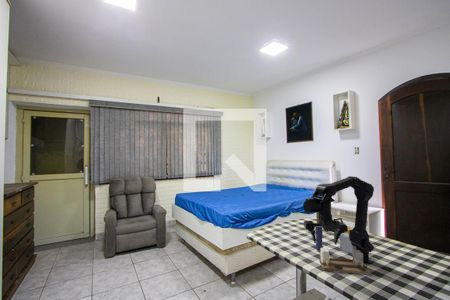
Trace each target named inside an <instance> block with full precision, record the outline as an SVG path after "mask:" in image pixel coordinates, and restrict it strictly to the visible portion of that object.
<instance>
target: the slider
mask: <svg viewBox="0 0 450 300" xmlns="http://www.w3.org/2000/svg"><path fill="white" fill-rule="evenodd" d="M320 249H321V251H320V257H321V261H322V263H327V266H328V263H329V258H330V251H329V250H328V248H326V247H323V248H320Z"/></svg>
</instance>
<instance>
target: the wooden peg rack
mask: <svg viewBox="0 0 450 300" xmlns="http://www.w3.org/2000/svg"><path fill="white" fill-rule="evenodd" d="M319 261H320V262H319ZM318 262H319V264H320V266H321V267H322V269H323V271H325V272H334V273H335V272H337V273H348V274H349V273H350V274H351V273H352V274H362V275H372V272H371V270H370V269H369V267H368V265H365V263H363V254H362V253H361V252H360V251H359V250H353V254H352V258H351V259H349V258H348V259H347V258H337V257H335V258H333V257H329V263H328V266H327V263H322V261H321V256H319V257H318Z"/></svg>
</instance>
